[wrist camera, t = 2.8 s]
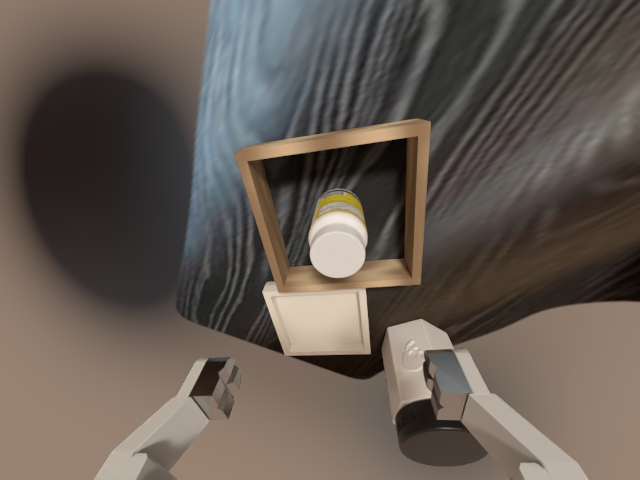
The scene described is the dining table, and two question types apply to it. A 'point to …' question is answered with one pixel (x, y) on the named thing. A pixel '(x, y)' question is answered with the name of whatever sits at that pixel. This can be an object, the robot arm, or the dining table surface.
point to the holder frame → (252, 155)
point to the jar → (422, 399)
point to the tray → (320, 321)
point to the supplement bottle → (338, 234)
